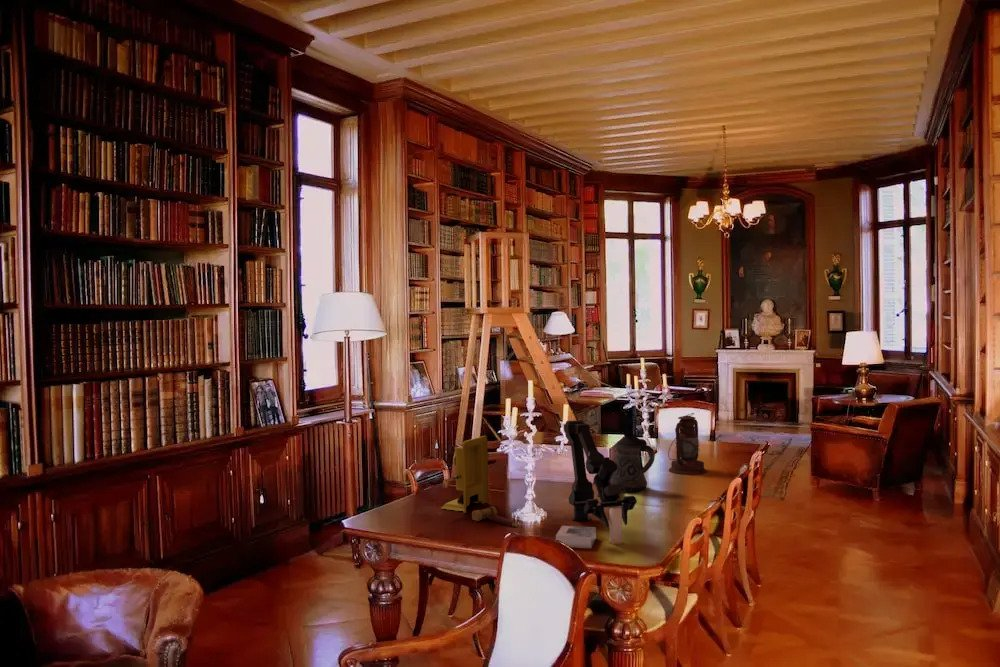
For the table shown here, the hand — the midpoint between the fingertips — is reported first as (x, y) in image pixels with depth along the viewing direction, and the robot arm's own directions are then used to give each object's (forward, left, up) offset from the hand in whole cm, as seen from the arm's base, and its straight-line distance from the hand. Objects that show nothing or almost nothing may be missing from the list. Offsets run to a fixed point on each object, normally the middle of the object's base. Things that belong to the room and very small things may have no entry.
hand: (617, 525), depth 277 cm
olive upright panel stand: (-42, -70, -7) cm, 82 cm away
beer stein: (-86, -3, -7) cm, 86 cm away
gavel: (-20, -49, -7) cm, 54 cm away
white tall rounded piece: (-1, -1, -7) cm, 7 cm away
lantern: (-130, +21, -7) cm, 132 cm away
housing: (+1, -15, -7) cm, 16 cm away
